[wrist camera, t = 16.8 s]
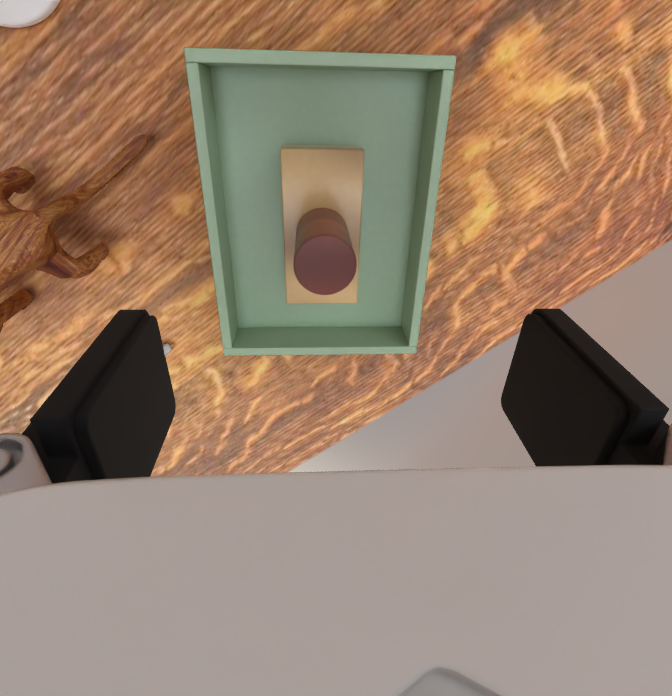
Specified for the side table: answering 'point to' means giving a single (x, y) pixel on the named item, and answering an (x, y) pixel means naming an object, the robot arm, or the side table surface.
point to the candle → (25, 12)
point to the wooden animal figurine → (47, 230)
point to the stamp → (321, 222)
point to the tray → (266, 192)
